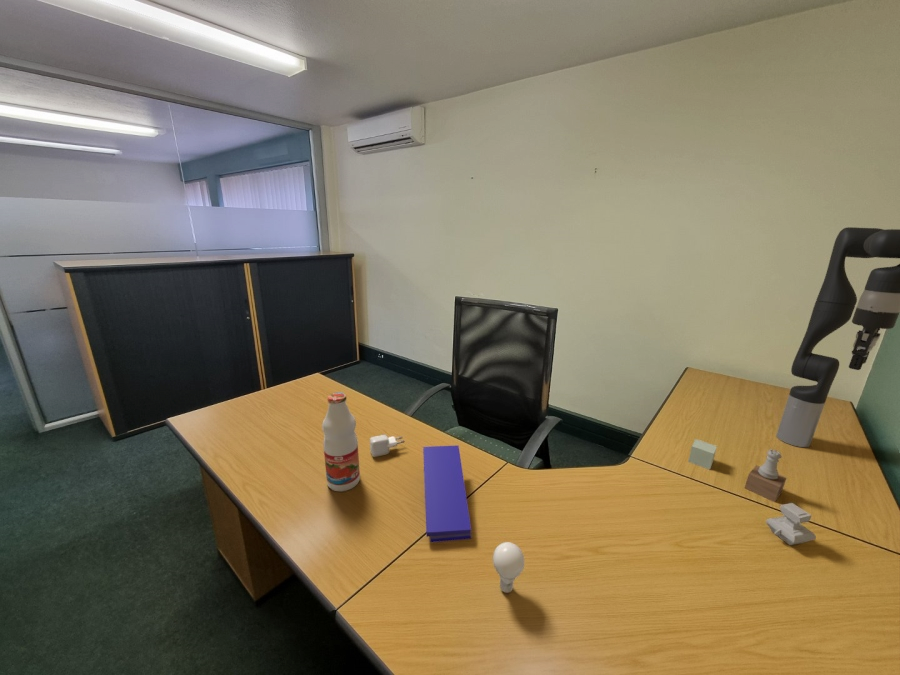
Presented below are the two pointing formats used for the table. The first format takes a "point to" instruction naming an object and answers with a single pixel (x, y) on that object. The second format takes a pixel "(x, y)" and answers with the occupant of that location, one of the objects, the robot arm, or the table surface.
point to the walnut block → (765, 485)
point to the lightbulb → (508, 564)
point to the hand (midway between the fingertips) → (856, 365)
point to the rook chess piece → (770, 465)
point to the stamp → (791, 525)
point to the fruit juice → (340, 445)
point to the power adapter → (382, 444)
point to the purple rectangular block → (445, 495)
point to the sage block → (702, 454)
